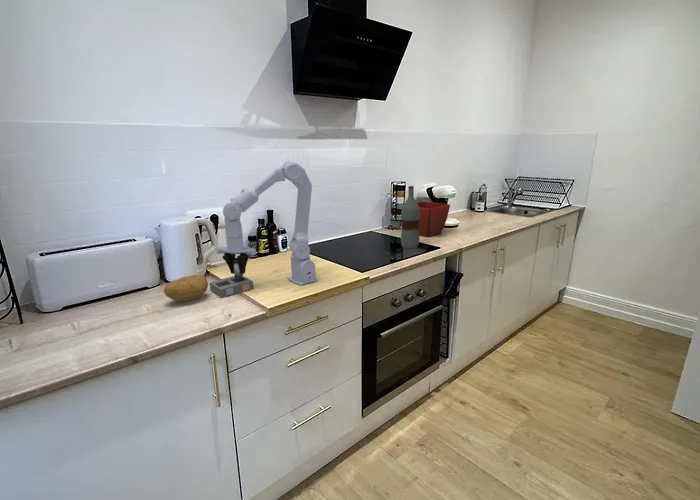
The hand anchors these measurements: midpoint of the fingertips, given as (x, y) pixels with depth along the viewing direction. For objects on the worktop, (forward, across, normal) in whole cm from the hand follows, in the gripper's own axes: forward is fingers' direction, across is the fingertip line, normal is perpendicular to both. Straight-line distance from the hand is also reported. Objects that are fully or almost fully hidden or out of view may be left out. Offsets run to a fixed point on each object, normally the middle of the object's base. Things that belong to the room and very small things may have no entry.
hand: (238, 273), depth 135 cm
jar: (+2, 0, 0) cm, 2 cm away
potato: (+6, +12, +14) cm, 19 cm away
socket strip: (+6, +2, +2) cm, 6 cm away
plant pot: (+6, -65, -96) cm, 116 cm away
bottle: (+6, -58, -67) cm, 88 cm away
